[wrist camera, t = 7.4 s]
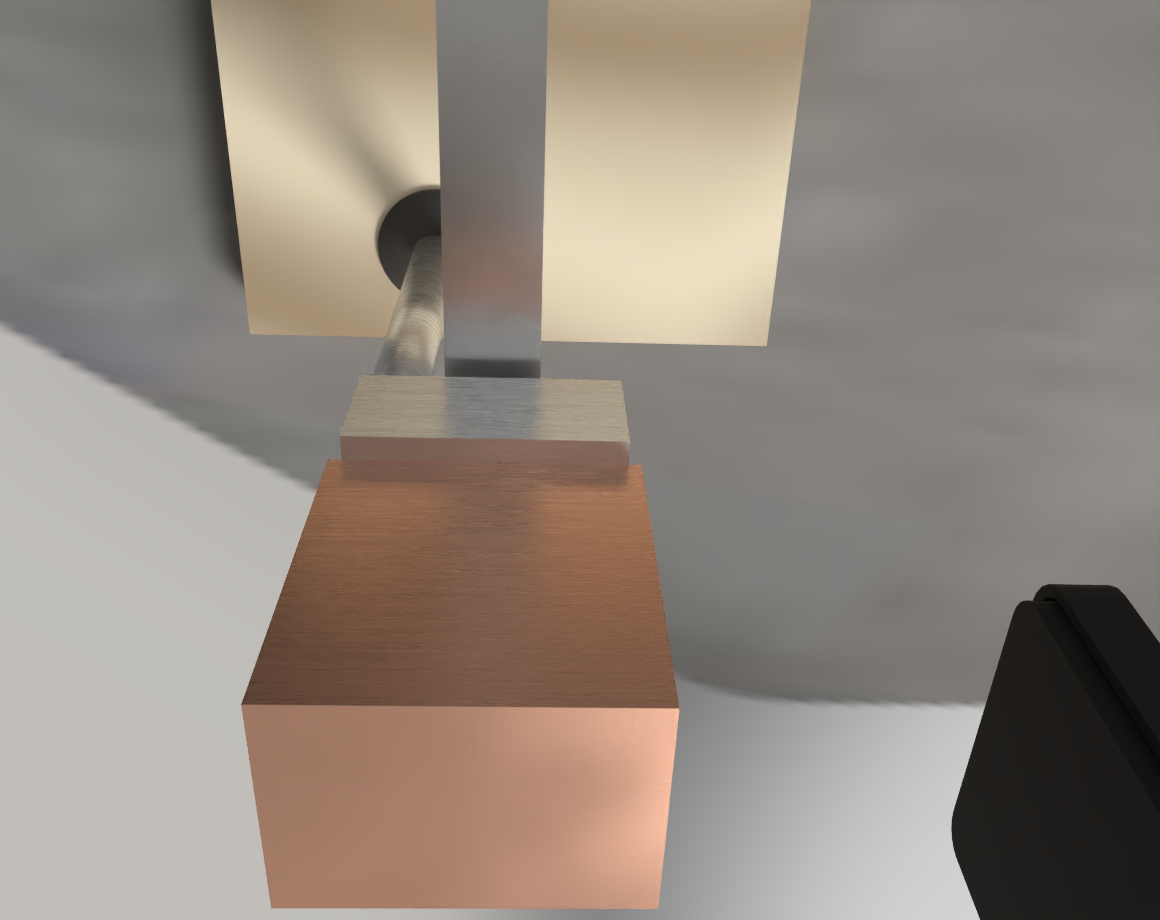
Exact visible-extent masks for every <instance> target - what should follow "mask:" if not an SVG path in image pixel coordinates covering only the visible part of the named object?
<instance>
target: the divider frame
mask: <svg viewBox="0 0 1160 920" xmlns="http://www.w3.org/2000/svg"><path fill="white" fill-rule="evenodd" d="M547 34H548V0H436V39H437V79H438V118H439V158H440V197H441V236H442V276H443V315H444V355H445V377H483V378H529V379H540V368H541V320H542V273H543V225H544V177H545V130H546V82H547Z"/></svg>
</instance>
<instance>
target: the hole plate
mask: <svg viewBox="0 0 1160 920" xmlns="http://www.w3.org/2000/svg"><path fill="white" fill-rule="evenodd" d="M810 5H811V0H548V34H547V82H546V130H545V177H544V225H543V273H542V320H541V341H575V342H619V343H662V344H705V345H748V346H767V338H768V330H769V322H770V315H771V307H772V299H773V292H774V284H775V276H776V268H777V261H778V253H779V245H780V237H781V230H782V222H783V214H784V206H785V199H786V191H787V183H788V175H789V168H790V160H791V152H792V144H793V137H794V129H795V121H796V113H797V106H798V98H799V90H800V82H801V75H802V67H803V59H804V52H805V44H806V36H807V28H808V21H809V13H810ZM211 6H212V15H213V23H214V32H215V40H216V49H217V57H218V66H219V74H220V83H221V91H222V100H223V108H224V117H225V125H226V134H227V142H228V151H229V159H230V168H231V176H232V185H233V193H234V202H235V210H236V219H237V227H238V235H239V244H240V252H241V261H242V269H243V278H244V286H245V295H246V303H247V312H248V320H249V329H250V334H272V335H316V336H359V337H385V336H386V333H387V330H388V327H389V324H390V321H391V318H392V315H393V312H394V309H395V306H396V303H397V300H398V296H399V293H400V290H401V287H402V284H403V281H404V278H405V275H406V272H407V269H408V266H409V263H410V260H411V257H412V253H413V250H414V247H415V245H416V244H417V242H418V241H419V240H420V239H422V238H423V237H425V236H428V235H434V234H435V235H441V197H440V158H439V118H438V79H437V39H436V0H211ZM442 338H444V329H443V334H442Z"/></svg>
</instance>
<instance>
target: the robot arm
mask: <svg viewBox="0 0 1160 920" xmlns="http://www.w3.org/2000/svg"><path fill="white" fill-rule="evenodd" d="M952 841H953V847H954V851H955V854H956V858H957V861H958V863H959V866H960V868H961V871H962V874H963V876H964V879H965V881H966V884H967V887H968V889H969V891H970V894H971V897H972V899H973V902H974V905H975V907H976V910H977V913H978V915H979V918H980V920H1160V643H1159V642H1158V640H1157V639H1156V637H1155V636H1154V635H1153V633H1152V632H1151V631H1150V629H1149V628H1148V626H1147V625H1146V624H1145V622H1144V621H1143V620H1142V618H1141V617H1140V615H1139V614H1138V613H1137V611H1136V610H1135V608H1134V607H1133V606H1132V604H1131V603H1130V602H1129V600H1128V599H1127V597H1126V596H1125V595H1124V594H1123V593H1122V592H1121V591H1120V590H1119V589H1118V588H1116V587H1113V586H1110V585H1063V584H1048V585H1045V586H1042V587H1041V588H1040V589H1039V590H1038V592H1037V593H1036V595H1035V597H1034V599H1033V601H1023V602H1020V603H1019V604H1018V606H1017V607H1016V609H1015V611H1014V613H1013V616H1012V620H1011V623H1010V626H1009V630H1008V633H1007V636H1006V639H1005V643H1004V646H1003V649H1002V653H1001V656H1000V659H999V663H998V666H997V669H996V672H995V676H994V679H993V682H992V686H991V689H990V692H989V696H988V699H987V702H986V705H985V709H984V712H983V715H982V719H981V722H980V725H979V729H978V732H977V735H976V739H975V742H974V745H973V748H972V752H971V755H970V759H969V762H968V765H967V768H966V772H965V775H964V778H963V781H962V785H961V788H960V792H959V795H958V798H957V801H956V805H955V808H954V811H953V816H952Z"/></svg>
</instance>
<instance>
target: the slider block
mask: <svg viewBox="0 0 1160 920" xmlns="http://www.w3.org/2000/svg"><path fill="white" fill-rule="evenodd" d="M443 329H444V315H443V276H442V236H441V235H435V234H434V235H428V236H425V237H423V238H422V239H420V240H419V241H418V242H417V244H416V245H415V247H414V250H413V253H412V257H411V260H410V263H409V266H408V269H407V272H406V275H405V278H404V281H403V284H402V287H401V290H400V293H399V296H398V300H397V303H396V306H395V309H394V312H393V315H392V318H391V321H390V324H389V327H388V330H387V333H386V336H385V339H384V343H383V346H382V349H381V352H380V355H379V358H378V361H377V364H376V367H375V370H374V373H373V375H361V376H360V379H359V382H358V385H357V388H356V391H355V394H354V396H353V399H352V402H351V405H350V408H349V411H348V414H347V417H346V419H345V422H344V425H343V428H342V431H341V434H340V445H341V458H342V460H328V461H327V464H326V467H325V470H324V472H323V475H322V478H321V481H320V484H319V487H318V489H317V492H316V495H315V498H314V501H313V504H312V506H311V509H310V512H309V515H308V518H307V520H306V523H305V526H304V529H303V532H302V535H301V537H300V540H299V543H298V546H297V549H296V552H295V554H294V557H293V560H292V563H291V566H290V569H289V572H288V574H287V577H286V580H285V583H284V586H283V588H282V592H281V594H280V597H279V600H278V603H277V605H276V608H275V611H274V614H273V616H272V620H271V622H270V625H269V628H268V631H267V633H266V637H265V639H264V642H263V645H262V648H261V650H260V653H259V656H258V659H257V662H256V665H255V667H254V670H253V673H252V676H251V679H250V681H249V685H248V687H247V690H246V693H245V696H244V698H243V701H242V704H241V706H242V713H243V720H244V725H245V733H246V740H247V746H248V753H249V760H250V766H251V773H252V780H253V787H254V794H255V800H256V807H257V813H258V821H259V827H260V834H261V840H262V848H263V854H264V861H265V868H266V874H267V881H268V888H269V895H270V901H271V908H501V909H502V908H503V909H504V908H505V909H506V908H507V909H508V908H511V909H514V908H515V909H522V908H523V909H524V908H526V909H529V908H530V909H531V908H532V909H533V908H534V909H535V908H536V909H540V908H541V909H551V908H552V909H557V908H558V909H658V904H659V896H660V886H661V876H662V867H663V858H664V849H665V839H666V829H667V820H668V810H669V801H670V792H671V782H672V773H673V764H674V754H675V745H676V735H677V726H678V716H679V704H678V697H677V691H676V684H675V678H674V671H673V665H672V658H671V652H670V646H669V639H668V633H667V626H666V620H665V613H664V607H663V600H662V594H661V588H660V581H659V575H658V568H657V562H656V555H655V549H654V543H653V536H652V530H651V523H650V517H649V510H648V504H647V498H646V491H645V485H644V478H643V472H642V465H628V461H629V446H630V440H629V433H628V426H627V418H626V411H625V404H624V397H623V390H622V383H621V380H575V379H529V378H483V377H436V376H434V372H435V367H436V363H437V358H438V353H439V348H440V344H441V339H442V334H443Z"/></svg>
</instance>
